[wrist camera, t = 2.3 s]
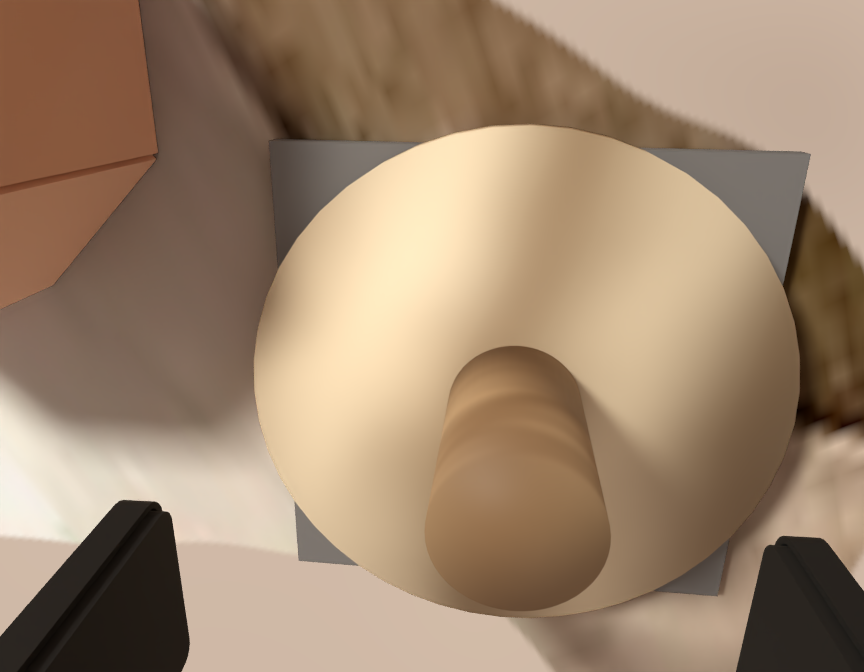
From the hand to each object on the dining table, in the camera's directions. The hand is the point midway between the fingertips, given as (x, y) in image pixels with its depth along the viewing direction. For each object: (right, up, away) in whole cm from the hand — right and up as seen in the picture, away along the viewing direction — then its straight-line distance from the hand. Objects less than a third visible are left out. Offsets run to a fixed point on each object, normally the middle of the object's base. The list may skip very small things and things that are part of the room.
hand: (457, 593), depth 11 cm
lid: (+2, +3, +7) cm, 7 cm away
